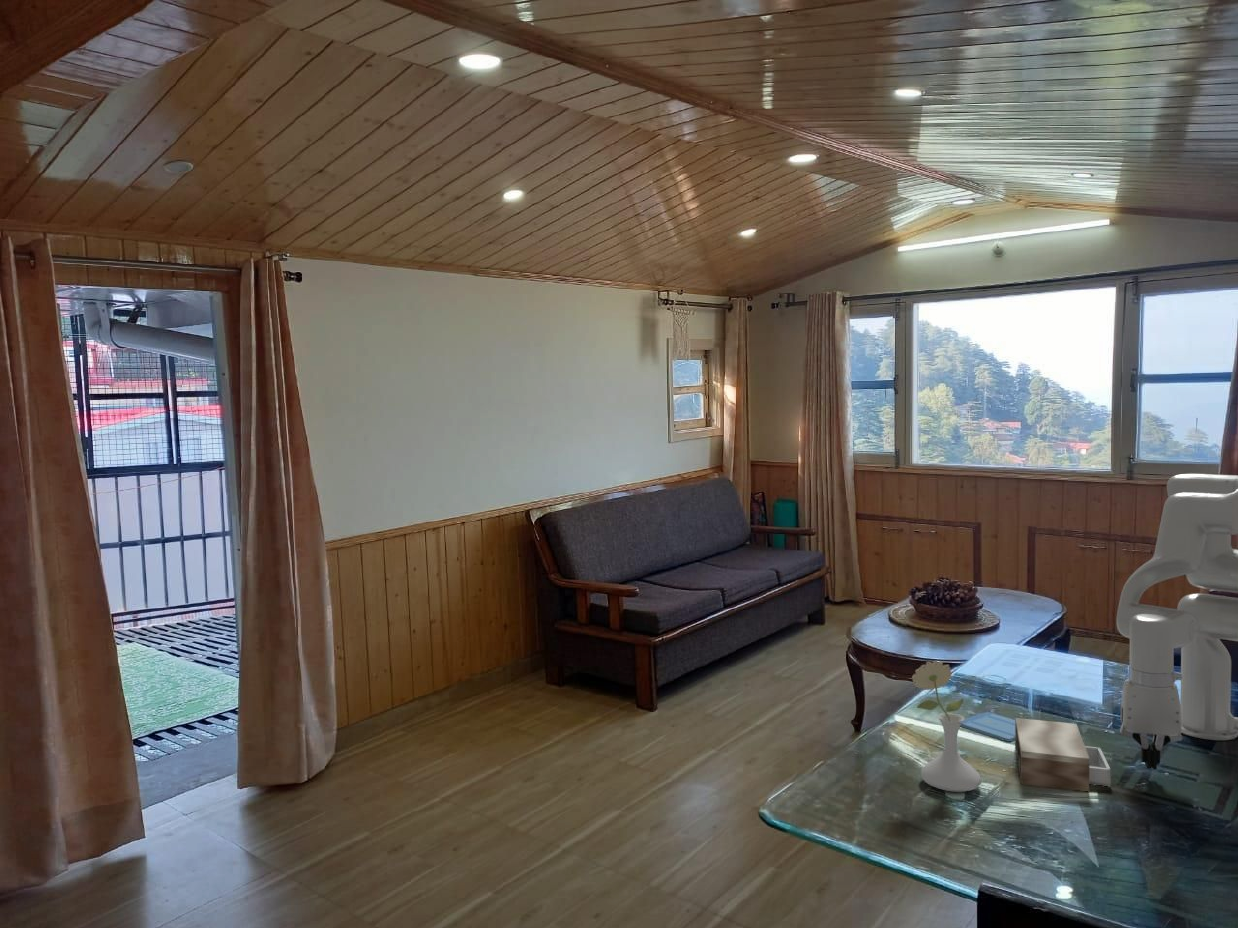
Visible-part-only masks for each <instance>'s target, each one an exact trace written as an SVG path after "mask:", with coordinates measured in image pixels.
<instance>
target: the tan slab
mask: <svg viewBox="0 0 1238 928" xmlns="http://www.w3.org/2000/svg"><path fill="white" fill-rule="evenodd" d="M1014 720H1015V740H1014V744H1015V745H1014V748H1015V749H1016V750H1015V752H1016V753H1015V755H1017V756H1016V760H1017V762H1018V773H1019V777H1020V784H1021V785H1028V786H1034V787H1041V788H1042V787H1043V788H1050V787H1051V789H1058V788H1061V789H1060V790H1066V789H1071V790H1070V791H1074V790H1081V791H1080V792H1082V791H1088V792H1087V793H1090V785H1089V756H1088V753H1087V751H1086V748H1085V746H1086V745H1085V743H1084V740H1083V738H1082V737H1083V736H1082V735H1081V733H1080V729H1079V726H1078V725H1077V723H1072V722H1060V721H1051V720H1049V721H1048V720H1043V719H1042V720H1039V719H1032V718H1020V717H1015V719H1014Z"/></svg>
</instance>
